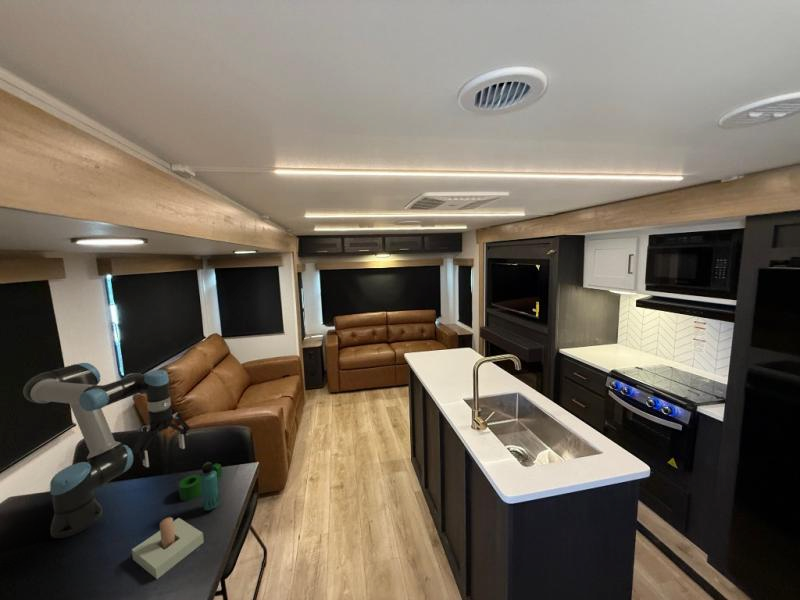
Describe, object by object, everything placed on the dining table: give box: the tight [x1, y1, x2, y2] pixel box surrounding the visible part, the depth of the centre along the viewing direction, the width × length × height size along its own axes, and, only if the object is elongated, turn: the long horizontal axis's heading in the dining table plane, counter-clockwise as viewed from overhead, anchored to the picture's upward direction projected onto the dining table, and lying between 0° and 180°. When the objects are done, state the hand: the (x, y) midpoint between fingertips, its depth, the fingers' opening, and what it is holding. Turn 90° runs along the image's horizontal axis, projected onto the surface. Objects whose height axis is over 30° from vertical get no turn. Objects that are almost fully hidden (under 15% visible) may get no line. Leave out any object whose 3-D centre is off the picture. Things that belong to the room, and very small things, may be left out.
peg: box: [159, 516, 175, 550], centre depth 119 cm, size 4×4×12 cm
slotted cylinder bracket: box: [178, 461, 223, 501], centre depth 153 cm, size 18×9×6 cm, turn 167°
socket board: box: [131, 517, 204, 580], centre depth 119 cm, size 16×16×4 cm
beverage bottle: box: [200, 463, 220, 511], centre depth 138 cm, size 6×7×20 cm
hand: (165, 456), depth 133 cm, fingers open, 13 cm apart
